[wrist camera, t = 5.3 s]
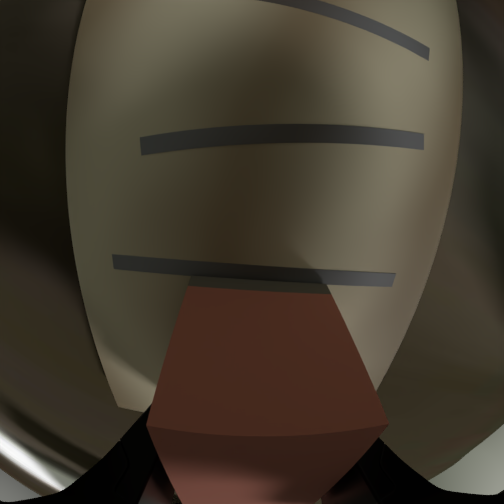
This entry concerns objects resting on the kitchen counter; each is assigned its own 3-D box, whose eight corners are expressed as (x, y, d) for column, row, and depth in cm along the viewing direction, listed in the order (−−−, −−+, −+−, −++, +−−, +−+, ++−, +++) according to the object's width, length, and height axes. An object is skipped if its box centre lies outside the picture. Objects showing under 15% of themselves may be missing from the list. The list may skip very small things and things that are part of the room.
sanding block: (326, 283, 8) (389, 423, 4) (288, 416, 11) (301, 514, 7) (191, 275, 8) (146, 425, 4) (198, 412, 11) (187, 513, 6)
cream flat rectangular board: (429, -42, 4) (443, -52, 3) (354, 400, 13) (360, 417, 12) (136, -81, 3) (127, -95, 2) (124, 389, 12) (118, 407, 11)
